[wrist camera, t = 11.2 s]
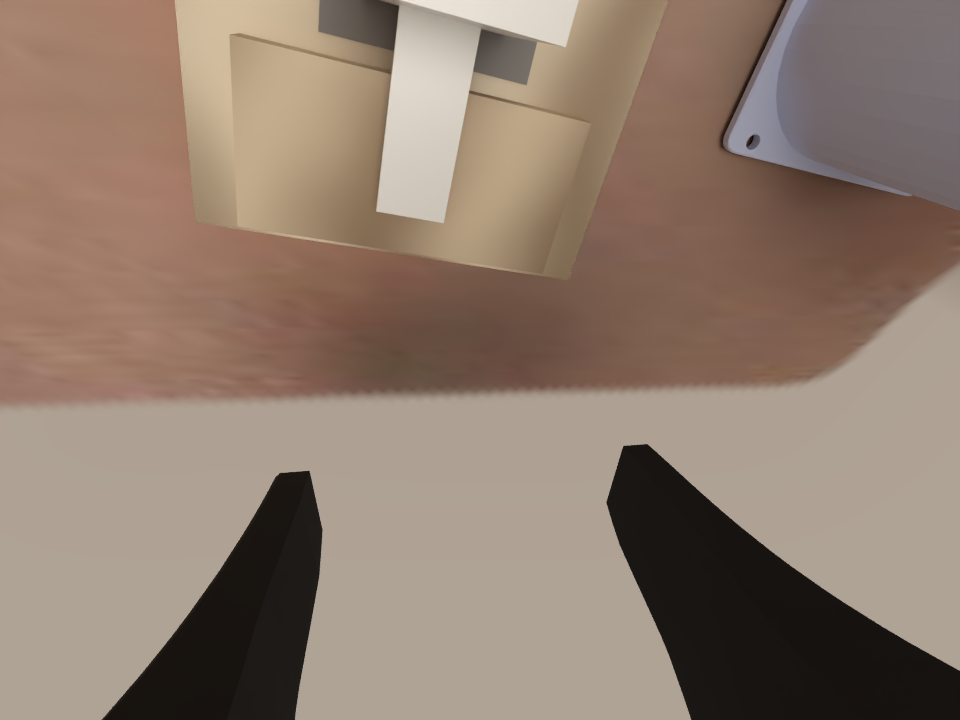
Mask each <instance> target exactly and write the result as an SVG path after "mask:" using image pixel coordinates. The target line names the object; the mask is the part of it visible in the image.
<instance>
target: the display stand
mask: <svg viewBox="0 0 960 720" xmlns="http://www.w3.org/2000/svg"><path fill="white" fill-rule="evenodd" d="M667 3H668V0H579V1H578V5H577V8H576V12H575V16H574V19H573V23H572V26H571V30H570V34H569V37H568V41H567V45H566V47H561V46H556V45H551V44H545V43H540V42H535V41H530V40H524V39H519V38H514V37H509V36H504V35H500V34H497V33H493V32H490V31H486V30H482V29H481V32H480V37H479V42H478V48H477V53H476V58H475V63H474V68H473V73H472V79H471V84H470V89H469V94H468V99H467V105H466V110H465V115H464V120H463V125H462V131H461V136H460V141H459V146H458V151H457V157H456V162H455V167H454V172H453V177H452V183H451V188H450V193H449V198H448V203H447V209H446V214H445V219H444V223H439V222H433V221H428V220H422V219H416V218H411V217H405V216H399V215H394V214H388V213H382V212H376V207H377V196H378V187H379V178H380V170H381V161H382V152H383V143H384V135H385V126H386V117H387V108H388V99H389V91H390V82H391V73H392V64H393V55H394V47H395V38H396V29H397V20H398V11H399V6H397V5H394V4H390V3H387V2H383V1H380V0H175V7H176V18H177V29H178V40H179V51H180V62H181V73H182V84H183V95H184V106H185V117H186V128H187V139H188V150H189V161H190V172H191V183H192V194H193V205H194V216H195V222H196V223H202V224H209V225H215V226H222V227H228V228H234V229H241V230H247V231H254V232H260V233H267V234H273V235H280V236H286V237H292V238H299V239H305V240H312V241H318V242H325V243H331V244H337V245H344V246H350V247H357V248H363V249H370V250H376V251H383V252H389V253H395V254H402V255H408V256H415V257H421V258H428V259H434V260H440V261H447V262H453V263H460V264H466V265H473V266H479V267H486V268H492V269H498V270H505V271H511V272H518V273H524V274H531V275H537V276H544V277H550V278H556V279H563V280H569V277H570V275H571V272H572V269H573V266H574V263H575V261H576V258H577V255H578V252H579V249H580V247H581V244H582V241H583V238H584V235H585V233H586V230H587V227H588V224H589V221H590V219H591V216H592V213H593V210H594V207H595V205H596V202H597V199H598V196H599V193H600V191H601V188H602V185H603V182H604V179H605V177H606V174H607V171H608V168H609V165H610V163H611V160H612V157H613V154H614V151H615V149H616V146H617V143H618V140H619V137H620V135H621V132H622V129H623V126H624V123H625V121H626V118H627V115H628V112H629V109H630V107H631V104H632V101H633V98H634V95H635V93H636V90H637V87H638V84H639V81H640V79H641V76H642V73H643V70H644V67H645V65H646V62H647V59H648V56H649V53H650V51H651V48H652V45H653V42H654V39H655V37H656V34H657V31H658V28H659V25H660V23H661V20H662V17H663V14H664V11H665V9H666V6H667Z"/></svg>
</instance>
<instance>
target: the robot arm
mask: <svg viewBox="0 0 960 720" xmlns="http://www.w3.org/2000/svg"><path fill="white" fill-rule="evenodd" d="M752 135H753V136H754V139H753V142H752V143H751V144H750V145H749V146H748V147H746V143H747V140H748V139H749V137H750V136H752ZM723 145H724V147H725V149H726V150H728V151H730V152H732V153H735V154H739V155H743V156H747V157H751V158H755V159H759V160H763V161H767V162H771V163H775V164H779V165H783V166H787V167H791V168H795V169H799V170H803V171H807V172H811V173H815V174H819V175H823V176H827V177H831V178H835V179H839V180H843V181H847V182H851V183H855V184H859V185H863V186H867V187H871V188H875V189H879V190H883V191H887V192H891V193H895V194H899V195H903V196H912V195H914V196H917V197H920V198H922V199H925V200H928V201H931V202H934V203H937V204H940V205H943V206H946V207H948V208H951V209H954V210H957V211H960V0H787V2H786V4H785V6H784V8H783V10H782V12H781V15H780V17H779V19H778V21H777V23H776V25H775V27H774V30H773V32H772V34H771V36H770V38H769V40H768V42H767V45H766V47H765V49H764V51H763V53H762V55H761V58H760V60H759V62H758V64H757V66H756V68H755V70H754V73H753V75H752V77H751V79H750V81H749V83H748V86H747V88H746V90H745V92H744V94H743V96H742V98H741V101H740V103H739V105H738V107H737V109H736V111H735V113H734V116H733V118H732V120H731V122H730V124H729V126H728V129H727V131H726V133H725V135H724V139H723ZM607 506H608V509H609V512H610V516H611V519H612V523H613V526H614V529H615V532H616V535H617V538H618V541H619V544H620V546H621V548H622V551H623V553H624V555H625V558H626V559H627V562H628V564H629V566H630V569H631V571H632V573H633V575H634V578H635V580H636V582H637V584H638V586H639V588H640V591H641V593H642V595H643V597H644V599H645V601H646V604H647V606H648V608H649V610H650V612H651V615H652V617H653V619H654V621H655V623H656V626H657V628H658V630H659V632H660V634H661V637H662V639H663V642H664V644H665V646H666V649H667V651H668V654H669V656H670V659H671V662H672V665H673V668H674V670H675V673H676V676H677V679H678V682H679V685H680V687H681V690H682V693H683V696H684V699H685V702H686V705H687V708H688V711H689V714H690V717H691V720H960V671H959V670H957V669H955V668H953V667H952V666H950V665H948V664H946V663H944V662H943V661H941V660H939V659H937V658H936V657H934V656H932V655H930V654H928V653H927V652H925V651H923V650H921V649H919V648H918V647H916V646H914V645H912V644H910V643H909V642H907V641H905V640H904V639H902V638H900V637H899V636H897V635H895V634H894V633H892V632H890V631H888V630H887V629H885V628H883V627H881V626H880V625H879V624H877V623H875V622H874V621H872V620H871V619H869V618H867V617H866V616H864V615H863V614H861V613H859V612H858V611H856V610H855V609H853V608H852V607H850V606H848V605H847V604H845V603H843V602H842V601H841V600H839V599H837V598H836V597H834V596H833V595H832V594H830V593H828V592H827V591H826V590H824V589H822V588H821V587H820V586H818V585H817V584H815V583H814V582H813V581H811V580H810V579H808V578H807V577H806V576H804V575H803V574H801V573H800V572H798V571H797V570H796V569H794V568H793V567H791V566H790V565H789V564H787V563H786V562H784V561H783V560H782V559H781V558H779V557H778V556H777V555H775V554H774V553H772V552H771V551H770V550H769V549H767V548H766V547H765V546H764V545H763V544H761V543H760V542H759V541H757V540H756V539H755V538H754V537H752V536H751V535H750V534H749V533H747V532H746V531H745V530H744V529H742V528H741V527H740V526H739V525H738V524H736V523H735V522H734V521H733V520H732V519H730V518H729V517H728V516H727V515H726V514H725V513H723V512H722V511H721V510H720V509H719V508H718V507H717V506H715V505H714V504H713V503H712V502H711V501H710V500H709V499H707V498H706V497H705V496H704V495H703V494H702V493H700V492H699V491H698V490H697V489H696V488H695V487H694V486H693V485H692V484H691V483H689V482H688V481H687V480H686V479H685V478H684V477H683V476H682V475H681V474H679V472H677V471H676V470H675V469H674V468H673V467H672V466H671V465H670V464H669V463H668V462H667V461H665V460H664V459H663V458H662V457H661V456H660V455H659V454H658V453H657V452H655V451H654V450H653V449H652V448H651V447H650V446H649V445H647V444H644V445H631V446H624V447H623V449H622V452H621V456H620V459H619V462H618V466H617V469H616V472H615V476H614V479H613V482H612V486H611V489H610V492H609V496H608V499H607ZM321 544H322V526H321V521H320V517H319V512H318V508H317V503H316V498H315V494H314V489H313V485H312V480H311V476H310V471H303V472H289V473H280V474H279V475H278V476H276V477H275V479H274V481H273V483H272V485H271V487H270V489H269V491H268V492H267V494H266V496H265V498H264V500H263V501H262V503H261V505H260V507H259V508H258V510H257V512H256V514H255V515H254V517H253V519H252V520H251V522H250V524H249V525H248V527H247V529H246V530H245V532H244V534H243V535H242V537H241V538H240V540H239V541H238V543H237V544H236V546H235V547H234V549H233V551H232V552H231V554H230V555H229V557H228V558H227V560H226V562H225V563H224V565H223V566H222V568H221V569H220V571H219V572H218V574H217V575H216V577H215V578H214V579H213V581H212V582H211V584H210V585H209V586H208V588H207V589H206V591H205V592H204V593H203V595H202V596H201V598H200V599H199V600H198V602H197V603H196V605H195V606H194V608H193V609H192V610H191V612H190V613H189V614H188V616H187V617H186V618H185V620H184V621H183V622H182V624H181V625H180V626H179V628H178V629H177V631H176V632H175V633H174V634H173V635H172V637H171V638H170V639H169V641H168V642H167V643H166V644H165V646H164V647H163V648H162V649H161V651H160V652H159V653H158V654H157V656H156V657H155V658H154V659H153V661H152V662H151V663H150V664H149V665H148V667H147V668H146V669H145V671H144V672H143V673H142V674H141V675H140V676H139V677H138V679H137V680H136V681H135V682H134V683H133V684H132V686H131V687H130V688H129V689H128V690H127V691H126V693H125V694H124V695H123V696H122V697H121V698H120V700H119V701H118V702H117V703H116V704H115V706H113V708H112V709H111V710H110V711H109V712H108V713H107V715H106V716H105V717H104V718H103V719H102V720H295V712H296V705H297V698H298V691H299V684H300V679H301V674H302V668H303V663H304V658H305V651H306V646H307V641H308V635H309V630H310V625H311V619H312V614H313V608H314V603H315V597H316V591H317V586H318V580H319V571H320V558H321Z"/></svg>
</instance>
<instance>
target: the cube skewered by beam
mask: <svg viewBox="0 0 960 720" xmlns="http://www.w3.org/2000/svg"><path fill="white" fill-rule="evenodd" d="M380 1H383V2H387V3H390V4H394V5H397V6H399V11H398V20H397V29H396V38H395V47H394V55H393V64H392V73H391V82H390V91H389V99H388V108H387V117H386V126H385V135H384V143H383V152H382V161H381V170H380V178H379V187H378V196H377V207H376V212H382V213H388V214H394V215H399V216H405V217H411V218H416V219H422V220H428V221H433V222H439V223H444V219H445V214H446V209H447V203H448V198H449V193H450V188H451V183H452V177H453V172H454V167H455V162H456V157H457V151H458V146H459V141H460V136H461V131H462V125H463V120H464V115H465V110H466V105H467V99H468V94H469V89H470V84H471V79H472V73H473V68H474V63H475V58H476V53H477V48H478V42H479V37H480V32H481V29H482V30H486V31H490V32H493V33H497V34H500V35H504V36H509V37H514V38H519V39H524V40H530V41H535V42H540V43H545V44H551V45H556V46H561V47H566V45H567V41H568V37H569V34H570V30H571V26H572V23H573V19H574V16H575V12H576V8H577V5H578V1H579V0H380Z"/></svg>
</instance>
